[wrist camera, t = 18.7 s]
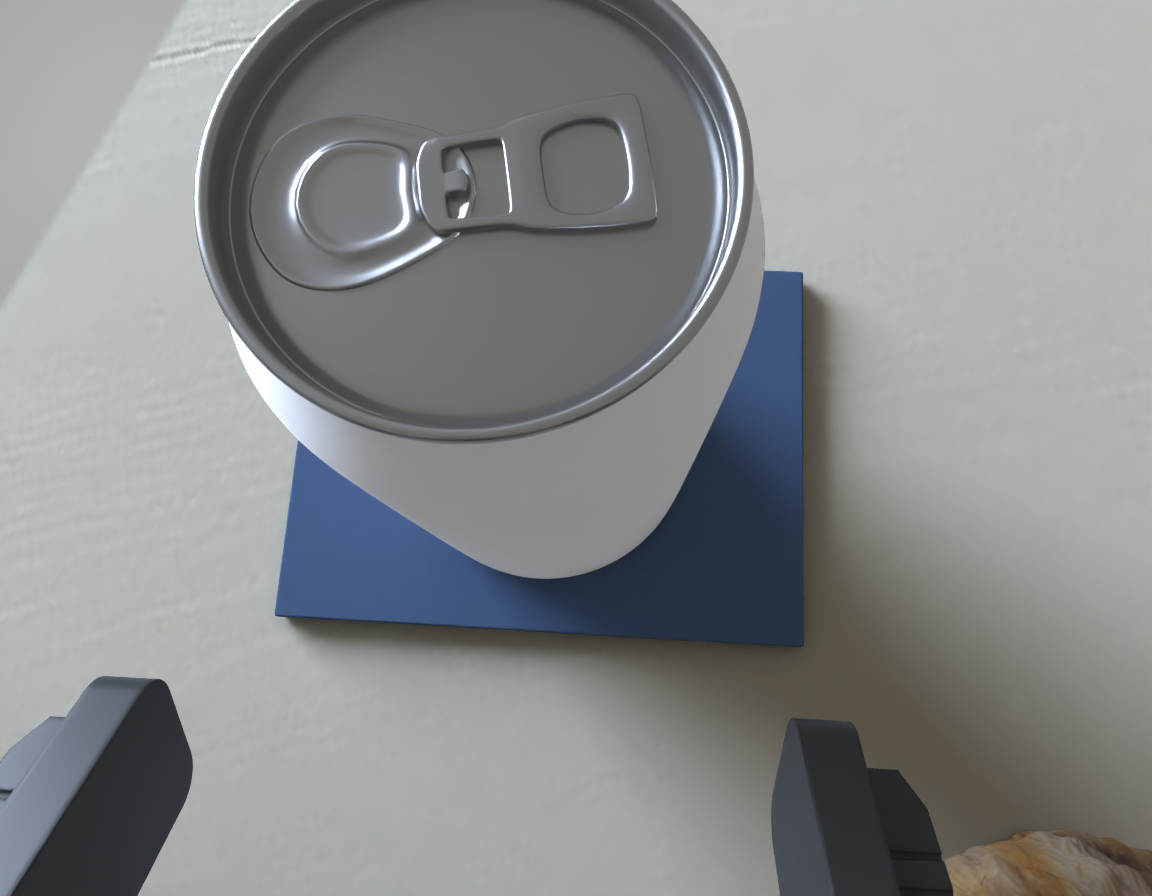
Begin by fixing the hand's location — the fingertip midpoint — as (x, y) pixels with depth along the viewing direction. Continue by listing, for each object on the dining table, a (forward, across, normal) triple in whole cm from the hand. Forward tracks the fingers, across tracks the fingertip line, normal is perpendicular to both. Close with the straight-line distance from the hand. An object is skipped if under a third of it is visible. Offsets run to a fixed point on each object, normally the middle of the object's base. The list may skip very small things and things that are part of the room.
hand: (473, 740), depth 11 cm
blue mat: (+10, 0, +2) cm, 10 cm away
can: (+10, 0, +2) cm, 10 cm away
